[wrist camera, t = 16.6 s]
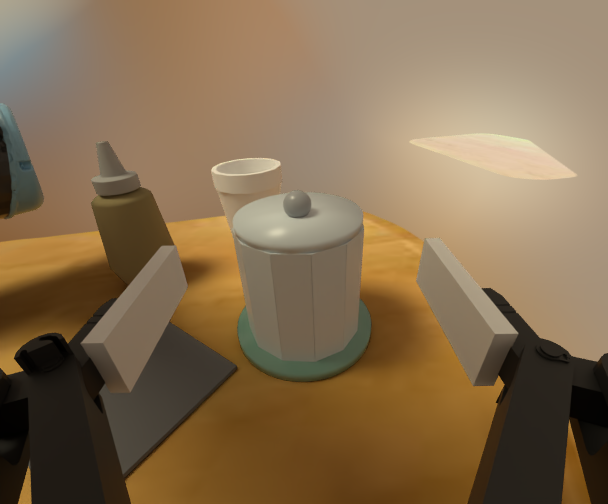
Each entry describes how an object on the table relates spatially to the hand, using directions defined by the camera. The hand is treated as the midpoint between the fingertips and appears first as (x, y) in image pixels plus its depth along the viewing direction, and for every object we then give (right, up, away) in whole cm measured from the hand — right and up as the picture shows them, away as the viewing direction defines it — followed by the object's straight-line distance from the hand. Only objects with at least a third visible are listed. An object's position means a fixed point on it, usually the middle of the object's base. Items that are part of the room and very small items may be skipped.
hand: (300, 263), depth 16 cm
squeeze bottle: (-21, -3, +25) cm, 33 cm away
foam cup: (-7, +1, +31) cm, 32 cm away
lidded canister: (0, -6, +15) cm, 17 cm away
